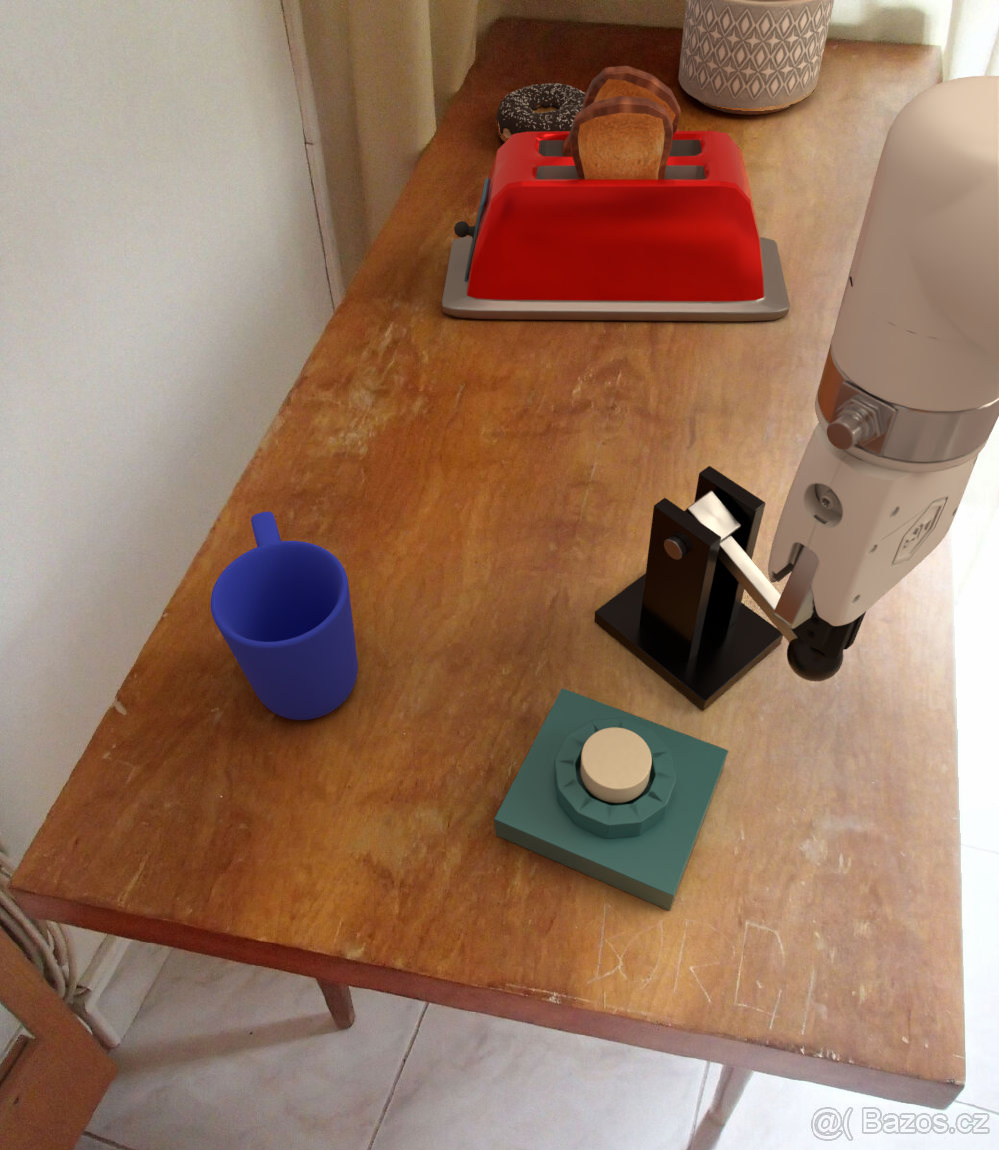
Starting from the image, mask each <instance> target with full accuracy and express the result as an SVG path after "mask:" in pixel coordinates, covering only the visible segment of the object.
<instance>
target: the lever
mask: <svg viewBox="0 0 999 1150" xmlns="http://www.w3.org/2000/svg"><path fill="white" fill-rule="evenodd" d="M684 511H685V512H686V513H688V514H689V515H691V516H692V517H693V518H695V519H696V520H698V521H699V522H701V523H702V524H703V525H705V526H706V527H708V528H709V529H711V530H712V531H713V532H715V533H716V534H718V535H719V536H721V541H720V546H719V551H718V556H717V557H718V558H719V559H720V560H721V562H722V563H723V564H724V565H725V566H726V568H727V569H728V570H729V571H730V572H731V574H732V575H733V576H734V577H735V578H736V579H737V581H738V582H739V583H740V584H741V585H742V587H743V588H744V591H745V592H746V593H747V594H748V595H749V596H750V598H751V599H752V600H753V601H754V602H755V604H756V605H757V606H758V607H759V608H760V610H761V611H762V612H763V614H765V615H766V617H767V618H768V619H769V620H770V622H771V623H772V625H773V626H774V627H776V628H777V629H778V630H779V631H780V632H781V633H782V635H783V638H784V639H786V641H787V642H788V644H787V649H786V658H787V662H788V665H789V667H790V669H791V670H792V672H794V673H795V675H797V676H798V677H799V678H801V679H802V680H806V681H809V682H816V683H817V682H823V681H826V680H828V679H831V678H832V677H833V676H835V675H836V674H837V673H838V672H839V670H840V669H841V667H842V665H843V662H844V657H845V656H844V654H845V653H844V651H843V652H842V654H841V655H840V656H839V657H838V658H837V659H836V660H832V659H830V658H828V657H827V656H826V655H824V654H823V653H822V652H820V651H819V650H817V649H815V648H812V647H811V646H809V645H808V644H806V643H805V642H804V641H803V640H802V639H801V638H800V637H799V636H798V635H797V634H795V633H794V632H793V631H792V629H791V628H790V627H789V626H787V625H786V624H785V623H783V622H782V621H781V620H779V619H778V618H776V617H775V616H774V615H773V613H774V610H775V608H776V606H777V603H778V601H779V599H780V597H781V594H782V593H781V592H779V591H778V589H777V588H776V586H775V585H774V584H773V583H772V582H771V581H770V579H768V577H767V576H766V575H765V574H764V572H762V571H761V569H760V568H759V567H758V566H757V564H756V563H755V562H754V561H753V559H752V560H751V559H750V557H749V556H748V555H747V554H746V553H745V552H744V550H743V549H742V548H741V547H740V546H739V544H738V543H737V542H736V541H735V540H734V538H733V537H732V536H731V534H732V533H734V532H735V531H736V530H737V529H738V528H739V527H740V526H741V524H740V523H739V522H738V521H737V520H736V519H735V517H734V516H733V515H732V514H731V513H730V511H729V510H728V509H727V508H726V507H725V506H724V504H723V503H722V502H721V501H720V500H719V498H718V497H717V496H716V495H715V494H714V493H713V491H709V492H708V493H707V494H705V495H704V496H703V497H701V498H700V499H699V500H697V501H696V502H693V503H692V504H690V505H688V507H687V508H685V510H684Z"/></svg>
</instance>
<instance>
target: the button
mask: <svg viewBox="0 0 999 1150" xmlns="http://www.w3.org/2000/svg"><path fill="white" fill-rule="evenodd" d="M651 764H652V757H651V752H650V749H649V747H648V746H647V744H646V743H645V741H644V740H643V739H642V738H641V737H640V736H639V735H637V734H636V733H634V732H632V731H630V730H627V729H624V728H616V727H614V728H606V729H602V730H600V731H598V732H596V733H594V734H593V735H592V736H591V737H590V738H588V740H587V741H586V743H585V744H584V746H583V749H582V754H581V778H582V781H583V783H584V785H585V787H586V788H587V789H588V790H589V792H590V793H592V794H593V795H594V796H595V797H597V798H599V799H601V800H603V801H606V802H611V803H623V802H627V801H630V800H632V799H634V798H636V797H638V796H639V795H640V794H641V793H642V792H643V791H644V790H645V788H646V786H647V784H648V781H649V776H650V770H651Z"/></svg>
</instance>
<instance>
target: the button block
mask: <svg viewBox="0 0 999 1150" xmlns="http://www.w3.org/2000/svg"><path fill="white" fill-rule="evenodd" d="M614 727H616V728H624V729H627V730H630V731H632V732H634V733H636V734H637V735H639V736H640V737H641V738H642V739H643V740H644V741H645V743H646V744H647V746H648V747H649V749H650V752H651V757H652V764H651V770H650V776H649V781H648V784H647V786H646V788H645V790H644V791H643V792H642V793H641V794H640V795H639V796H638V797H636V798H634V799H632V800H630V801H627V802H623V803H611V802H606V801H603V800H601V799H599V798H597V797H595V796H594V795H593V794H592V793H590V792H589V790H588V789H587V788H586V787H585V785H584V783H583V781H582V778H581V754H582V749H583V746H584V744H585V743H586V741H587V740H588V738H590V737H591V736H592V735H593V734H594V733H596V732H598V731H600V730H602V729H606V728H614ZM728 755H729V750H728V749H726V748H723V747H721V746H719V745H715V744H713V743H710V742H707V741H704V740H702V739H700V738H696V737H694V736H691V735H688V734H686V733H683V732H681V731H678V730H675V729H673V728H670V727H668V726H665V725H662V724H659V723H657V722H654V721H651V720H649V719H646V718H644V717H641V716H638V715H636V714H633V713H630V712H628V711H625V710H622V709H619V708H617V707H614V706H611V705H609V704H606V703H603V702H601V701H598V700H596V699H593V698H590V697H587V696H585V695H582V694H580V693H577V692H574V691H571V690H569V689H566V688H563V687H562V688H560V691H559V693H558V694H557V696H556V697H555V700H554V702H553V704H552V706H551V708H550V709H549V712H548V714H547V716H546V718H545V719H544V721H543V723H542V725H541V726H540V729H539V731H538V733H537V735H536V736H535V739H534V740H533V742H532V745H531V746H530V748H529V750H528V752H527V754H526V756H525V758H524V760H523V762H522V764H521V766H520V768H519V769H518V771H517V774H516V775H515V778H514V779H513V781H512V783H511V785H510V787H509V789H508V790H507V793H506V794H505V797H504V799H503V801H502V803H501V804H500V806H499V809H498V810H497V812H496V814H495V816H494V818H493V821H494V822H493V823H494V833H495V836H496V837H499V838H501V839H503V840H506V841H508V842H509V843H510V842H511V843H513V844H515V845H518V846H520V847H522V848H524V849H527V850H529V851H531V852H533V853H536V854H538V855H540V856H543V857H545V858H547V859H548V860H552V861H554V862H557V863H559V864H561V865H563V866H566V867H568V868H570V869H573V870H575V871H577V872H580V873H582V874H584V875H586V876H588V877H591V878H593V879H595V880H597V881H599V882H603V883H605V884H607V885H610V886H611V887H614V888H616V889H618V890H621V891H623V892H625V893H627V894H630V895H632V896H634V897H637V898H639V899H642V900H644V901H646V902H649V903H651V904H653V905H655V906H657V907H660V908H662V909H664V910H667V911H671V910H672V908H673V905H674V902H675V900H676V896H677V894H678V891H679V889H680V886H681V884H682V882H683V881H682V880H683V878H684V875H685V872H686V870H687V868H688V865H689V862H690V859H691V857H692V854H693V852H694V849H695V846H696V843H697V841H698V838H699V836H700V833H701V830H702V827H703V825H704V822H705V819H706V817H707V814H708V811H709V809H710V805H711V803H712V801H713V798H714V796H715V793H716V790H717V787H718V784H719V781H720V779H721V776H722V773H723V772H724V768H725V766H726V765H725V764H726V762H727V758H728Z"/></svg>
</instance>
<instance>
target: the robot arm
mask: <svg viewBox="0 0 999 1150" xmlns="http://www.w3.org/2000/svg"><path fill="white" fill-rule="evenodd" d="M860 227H861V228H860V231H859V235H858V238H857V242H856V246H855V249H854V254H853V257H852V261H851V265H850V268H849V272H848V276H847V280H846V283H845V287H844V292H843V295H842V299H841V303H840V306H839V311H838V314H837V317H836V322H835V325H834V328H833V333H832V337H831V340H830V343H829V347H828V351H827V355H826V359H825V363H824V367H823V370H822V373H821V378H820V381H819V385H818V388H817V391H816V396H815V400H814V411H815V416H816V418H817V421H818V423H817V425H816V426H815V427H814V430H813V432H812V434H811V437H810V439H809V441H808V443H807V445H806V447H805V450H804V453H803V455H802V457H801V460H800V462H799V464H798V467H797V469H796V472H795V474H794V477H793V480H792V482H791V486H790V488H789V490H788V493H787V496H786V498H785V501H784V505H783V506H782V507H783V508H782V510H781V513H780V517H779V520H778V523H777V526H776V529H775V533H774V536H773V539H772V543H771V548H770V552H769V558H768V563H767V564H768V566H767V574H768V578H769V579H768V580H769V581H770V582H771V584H773V583H776V582H778V583H780V582H781V581H782V580H783V579H784V578H785V577H787V576H788V575H789V574H790V575H789V577H788V579H787V581H786V583H785V586H784V588H783V590H782V591H781V593H780V594H781V597H780V599H779V601H778V603H777V606H776V608H775V610H774V613H773V615H774V616H775V617H776V618H778V619H779V620H781V621H782V622H783V623H785V624H786V625H787V626H789V627H790V628H791V629H792V631H793V632H794V633H795V634H797V635H798V636H799V637H800V638H801V639H802V640H803V641H804V642H805V643H806V644H808V645H809V646H811V647H812V648H815V649H817V650H819V651H820V652H822V653H823V654H824V655H826V656H827V657H828V658H830V659H832V660H836V659H837V658H838V657H839V656H840V655H841V654H842V652H843V653H844V650H848V649H849V648H850V647H851V646H853V644H854V643H855V641H856V637H857V636H858V634H859V630H860V628H861V626H862V623H863V621H864V618H865V616H866V613H867V611H868V610H870V608H872V607H873V606H875V604H876V603H878V601H879V600H881V599H882V598H883V597H884V596H885V595H886V594H888V592H890V591H891V590H892V589H893V588H894V587H895V586H896V585H898V584H899V583H900V582H901V581H902V580H903V579H905V577H906V576H908V574H910V573H911V572H912V571H913V570H914V569H915V568H916V567H917V566H918V565H919V564H921V563H922V562H923V561H924V560H925V559H926V558H927V557H929V555H931V553H932V552H933V551H934V550H935V549H936V548H937V547H938V546H939V545H940V544H941V542H942V541H943V540H944V538H945V537H946V536H947V534H948V533H949V531H950V528H951V526H952V525H953V522H954V519H955V517H956V515H957V512H958V509H959V507H960V504H961V502H962V499H963V497H964V495H965V491H966V489H967V486H968V484H969V481H970V478H971V475H972V473H973V471H974V468H975V465H976V462H977V459H978V457H979V454H980V453H981V451H983V449H984V448H985V446H986V444H987V442H988V441H989V438H990V436H991V434H992V432H993V430H994V427H995V425H996V423H997V421H998V419H999V75H973V76H965V77H958V78H957V77H956V78H952V79H949V80H945V81H943V82H940V83H937V84H935V85H933V86H931V87H928V88H927V89H925V90H923V91H921V92H919V93H917V94H916V95H915V96H914V97H913V98H912V99H910V100H909V101H908V102H907V103H905V105H904V106H903V107H902V108H901V109H900V111H899V113H898V114H897V115H896V117H895V118H894V120H893V122H892V123H891V125H890V127H889V130H888V131H887V135H886V137H885V141H884V143H883V147H882V150H881V153H880V157H879V161H878V164H877V168H876V172H875V175H874V179H873V183H872V187H871V191H870V193H869V197H868V202H867V205H866V209H865V212H864V216H863V220H862V224H861V226H860Z"/></svg>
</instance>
